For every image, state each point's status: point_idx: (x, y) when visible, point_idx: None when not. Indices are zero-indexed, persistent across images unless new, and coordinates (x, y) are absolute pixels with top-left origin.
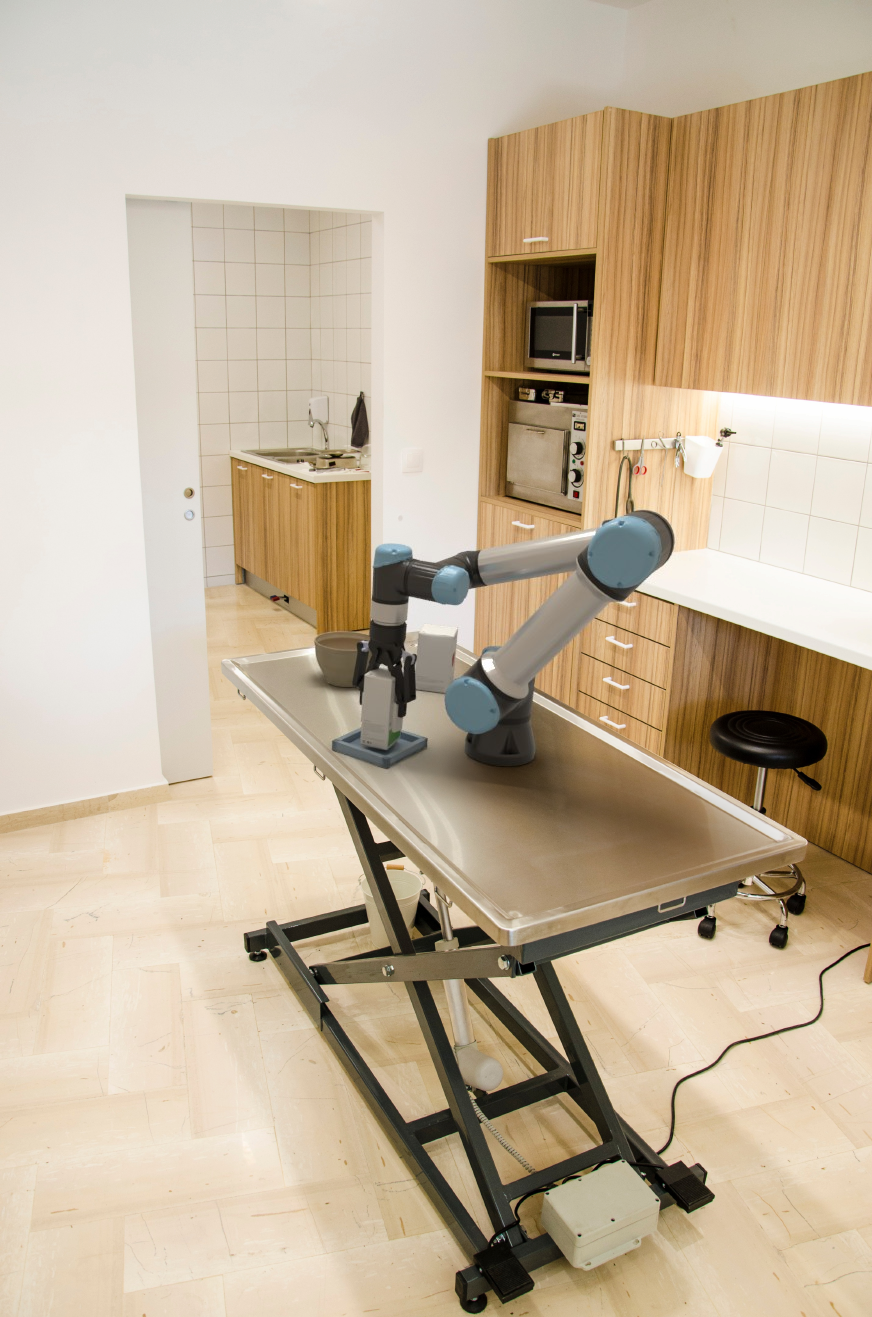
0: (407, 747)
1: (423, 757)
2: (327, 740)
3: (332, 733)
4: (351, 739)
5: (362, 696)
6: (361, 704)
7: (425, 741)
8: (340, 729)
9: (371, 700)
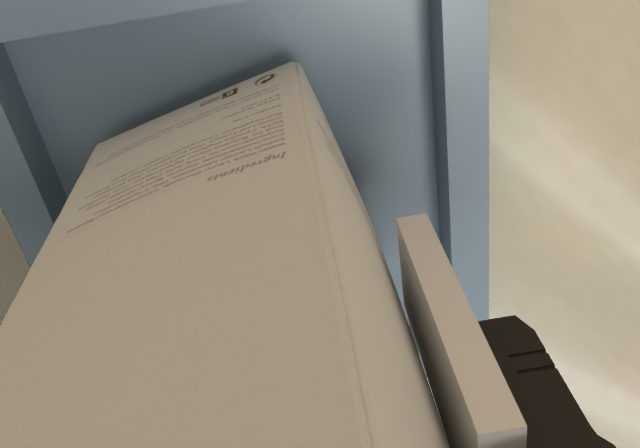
0: None
1: (11, 299)
2: (592, 5)
3: (631, 115)
4: (436, 103)
5: (504, 384)
6: (496, 323)
7: None
8: (625, 194)
9: (197, 346)
